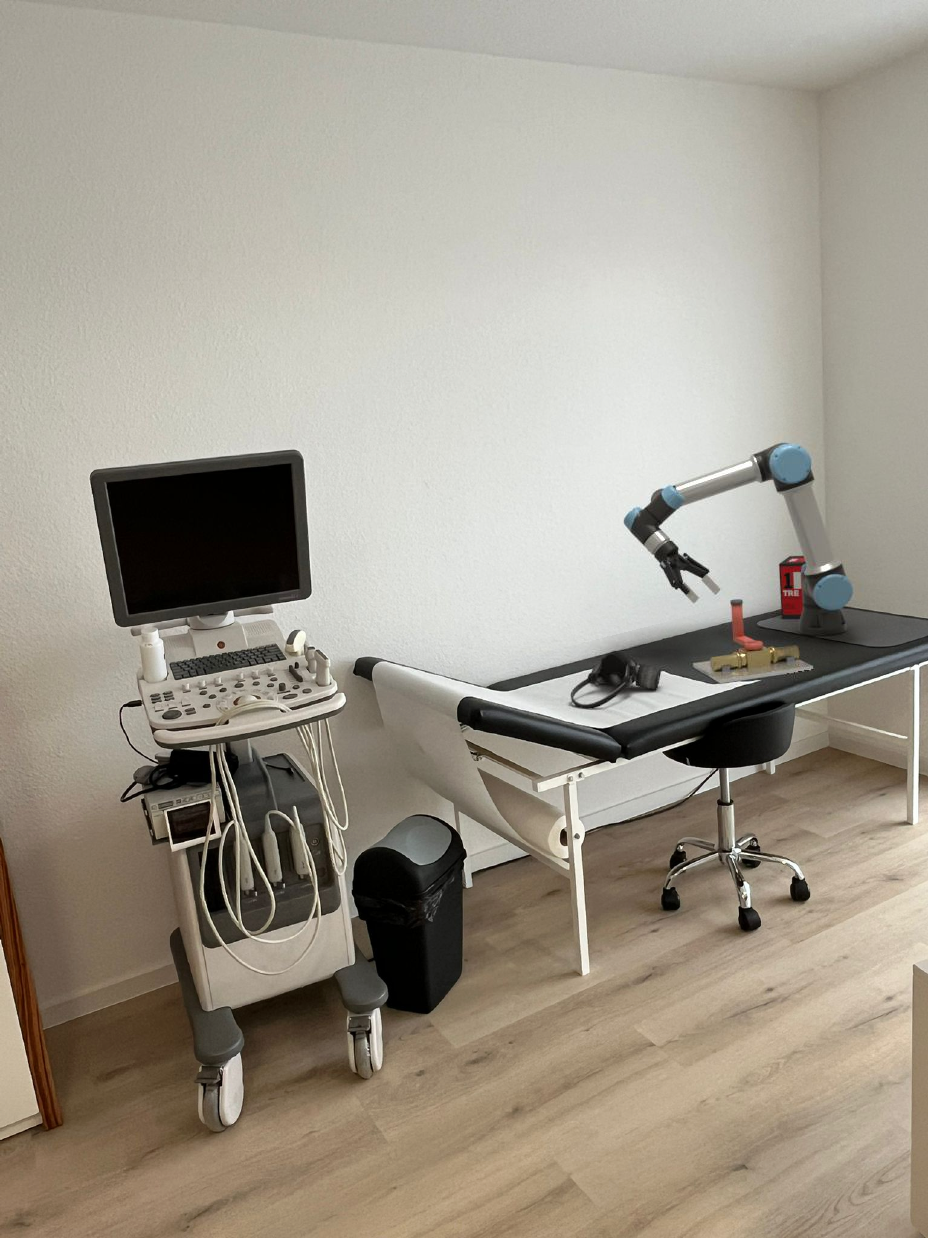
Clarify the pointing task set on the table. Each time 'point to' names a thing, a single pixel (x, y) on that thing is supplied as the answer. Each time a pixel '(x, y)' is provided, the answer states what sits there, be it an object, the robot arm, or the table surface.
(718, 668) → the valve
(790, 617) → the cleaning product box
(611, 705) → the table surface
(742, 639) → the lever
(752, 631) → the table surface
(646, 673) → the respirator mask
